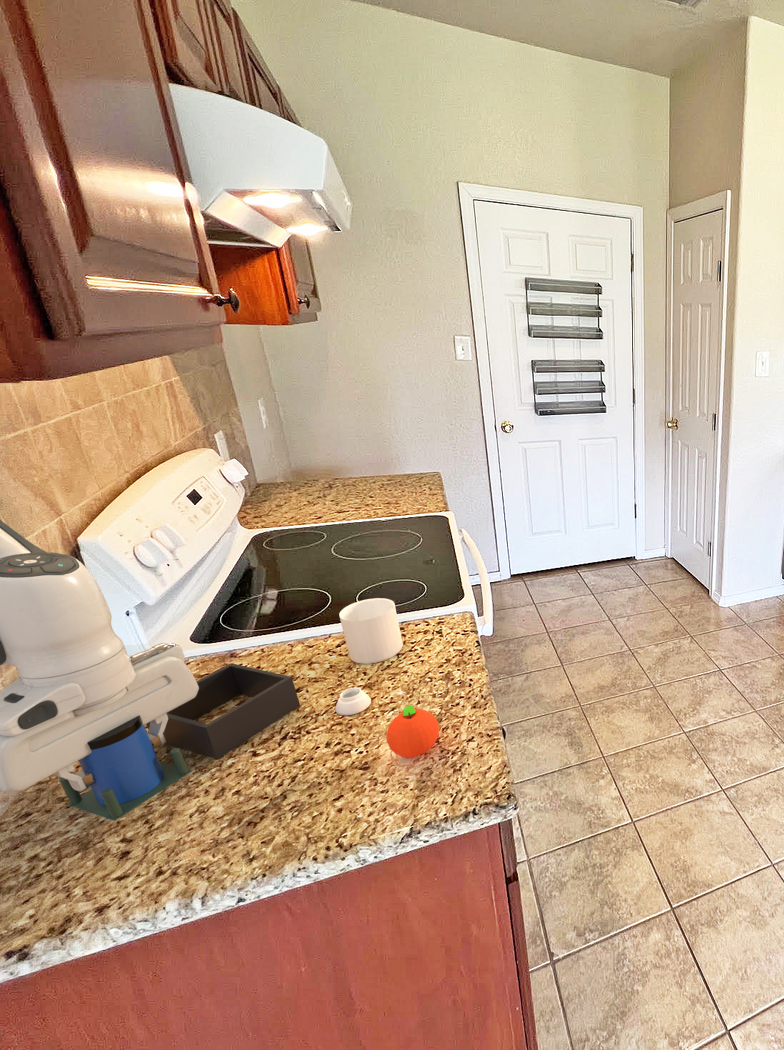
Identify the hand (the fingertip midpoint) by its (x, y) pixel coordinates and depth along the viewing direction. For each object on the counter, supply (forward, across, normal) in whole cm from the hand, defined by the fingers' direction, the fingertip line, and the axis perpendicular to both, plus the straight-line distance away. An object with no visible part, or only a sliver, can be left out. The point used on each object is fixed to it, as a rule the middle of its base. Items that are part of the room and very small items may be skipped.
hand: (121, 765), depth 76 cm
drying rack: (+5, 0, 0) cm, 5 cm away
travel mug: (+4, 0, 0) cm, 4 cm away
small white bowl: (+5, -23, +13) cm, 27 cm away
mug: (+5, -39, +2) cm, 39 cm away
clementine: (+5, -18, +30) cm, 35 cm away
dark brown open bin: (+5, -14, -1) cm, 14 cm away
